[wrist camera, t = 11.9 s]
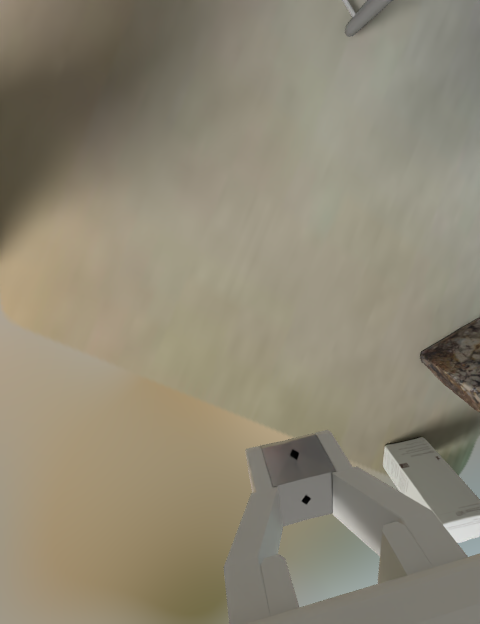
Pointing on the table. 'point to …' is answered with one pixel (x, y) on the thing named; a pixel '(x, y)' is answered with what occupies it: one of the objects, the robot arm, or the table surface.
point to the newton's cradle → (363, 14)
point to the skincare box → (434, 486)
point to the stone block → (458, 362)
